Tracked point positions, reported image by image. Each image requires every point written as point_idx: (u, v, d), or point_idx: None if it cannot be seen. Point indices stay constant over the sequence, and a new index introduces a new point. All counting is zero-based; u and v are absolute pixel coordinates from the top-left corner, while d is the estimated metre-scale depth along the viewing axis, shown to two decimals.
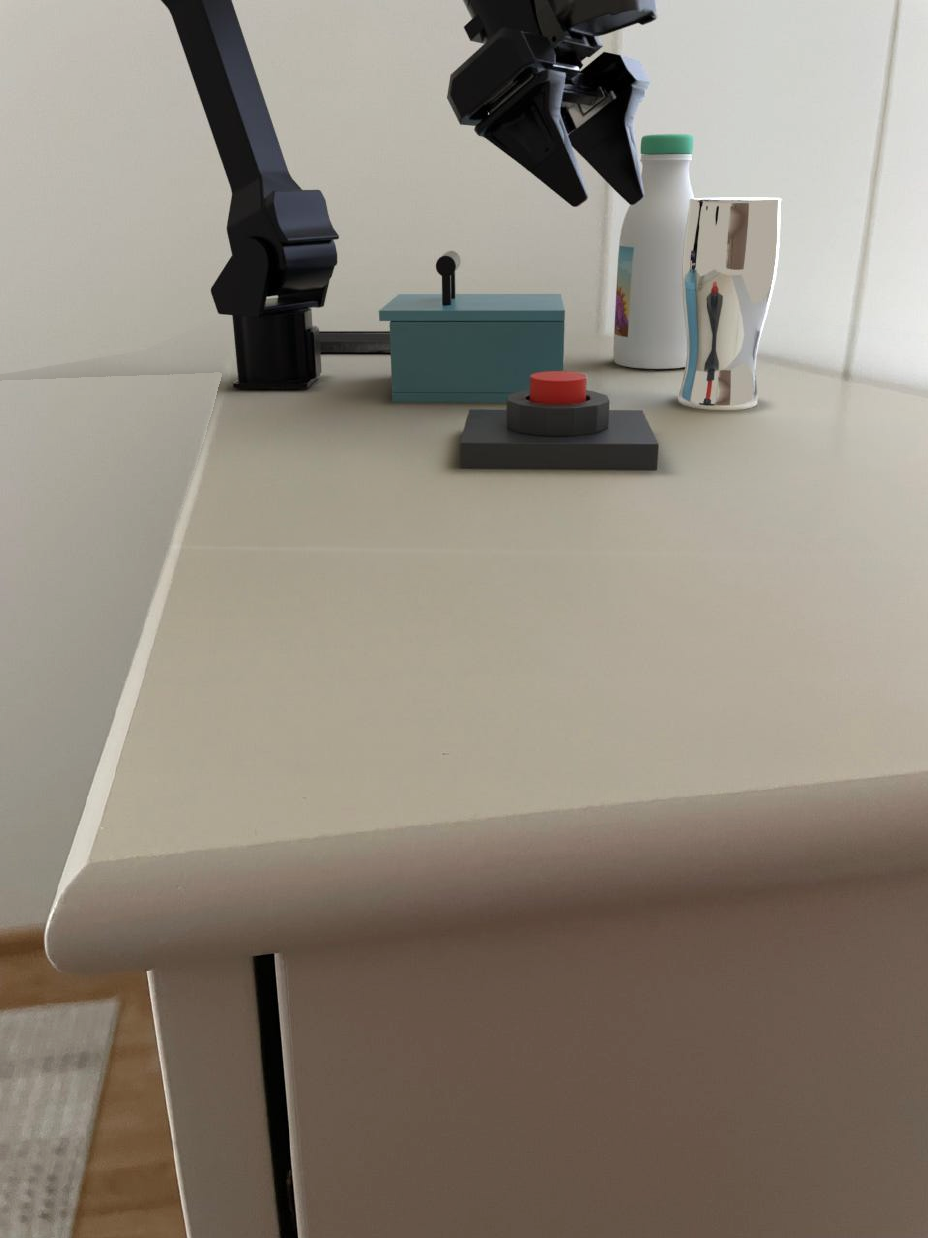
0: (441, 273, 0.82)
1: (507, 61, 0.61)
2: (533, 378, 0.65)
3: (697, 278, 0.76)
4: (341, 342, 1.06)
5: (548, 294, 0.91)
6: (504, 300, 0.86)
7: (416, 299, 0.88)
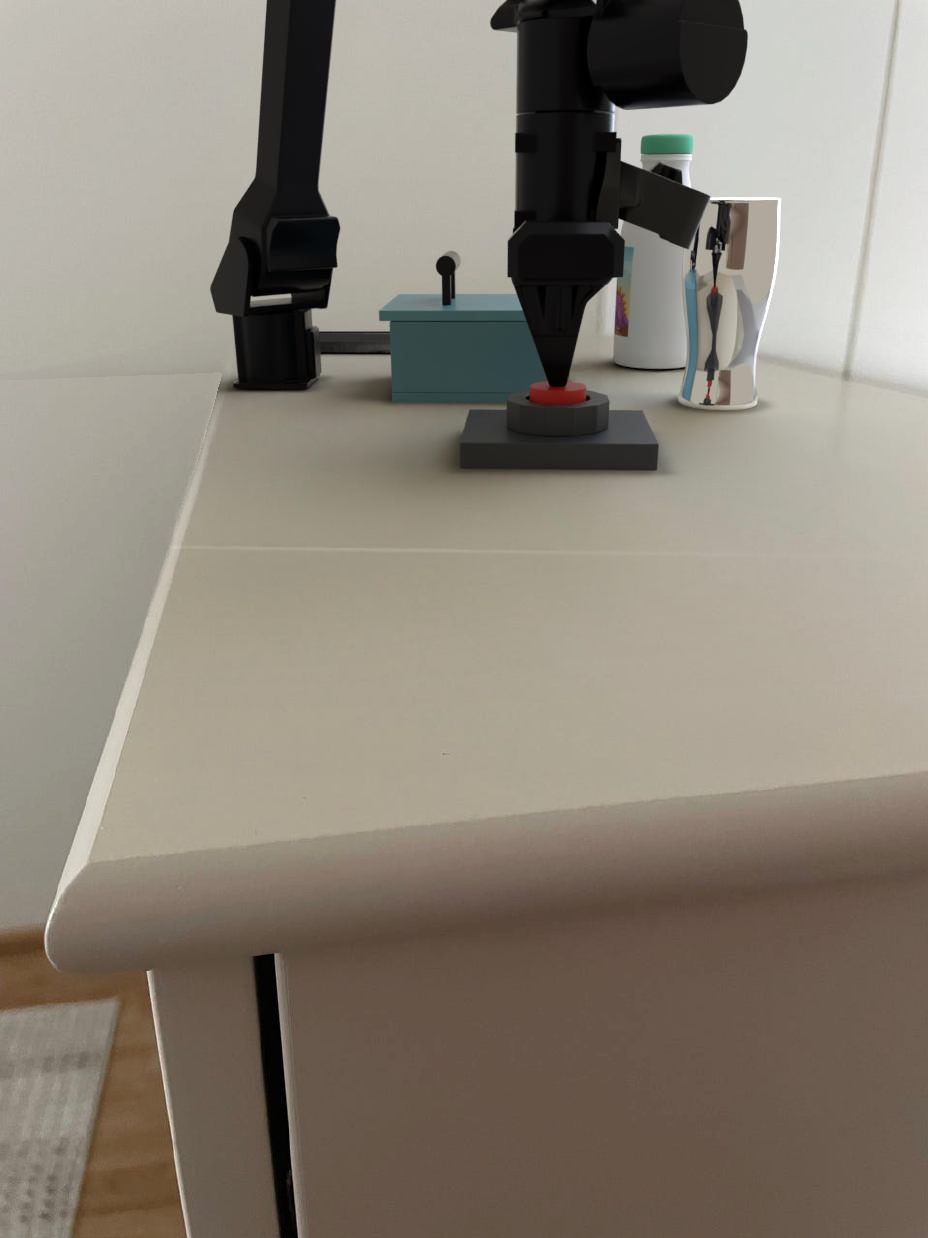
0: (441, 273, 0.82)
1: (598, 262, 0.54)
2: (533, 388, 0.66)
3: (697, 278, 0.76)
4: (341, 342, 1.06)
5: None
6: (504, 300, 0.86)
7: (416, 299, 0.88)
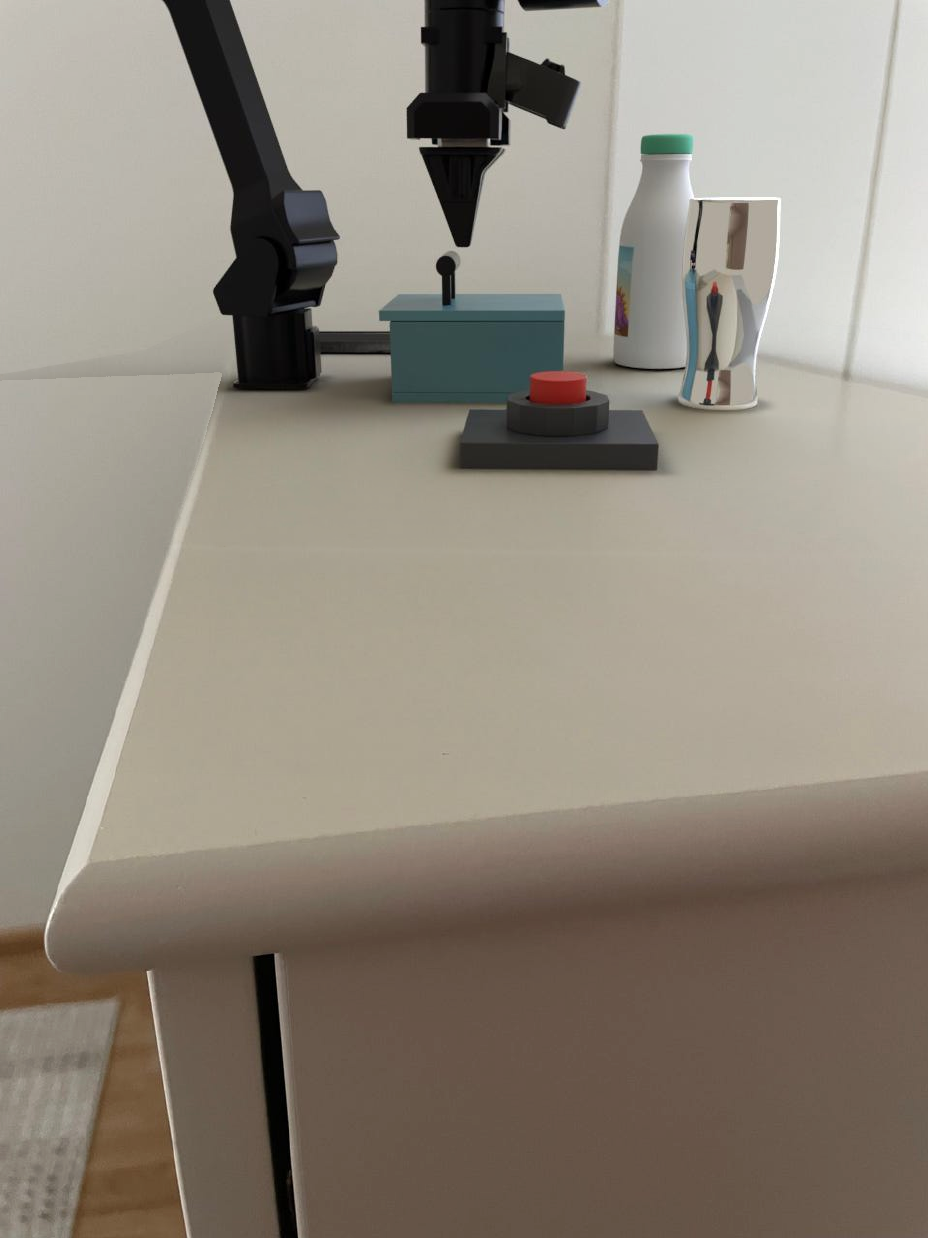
0: (441, 273, 0.82)
1: (477, 125, 0.68)
2: (533, 378, 0.65)
3: (697, 278, 0.76)
4: (341, 342, 1.06)
5: (548, 294, 0.91)
6: (504, 300, 0.86)
7: (416, 299, 0.88)
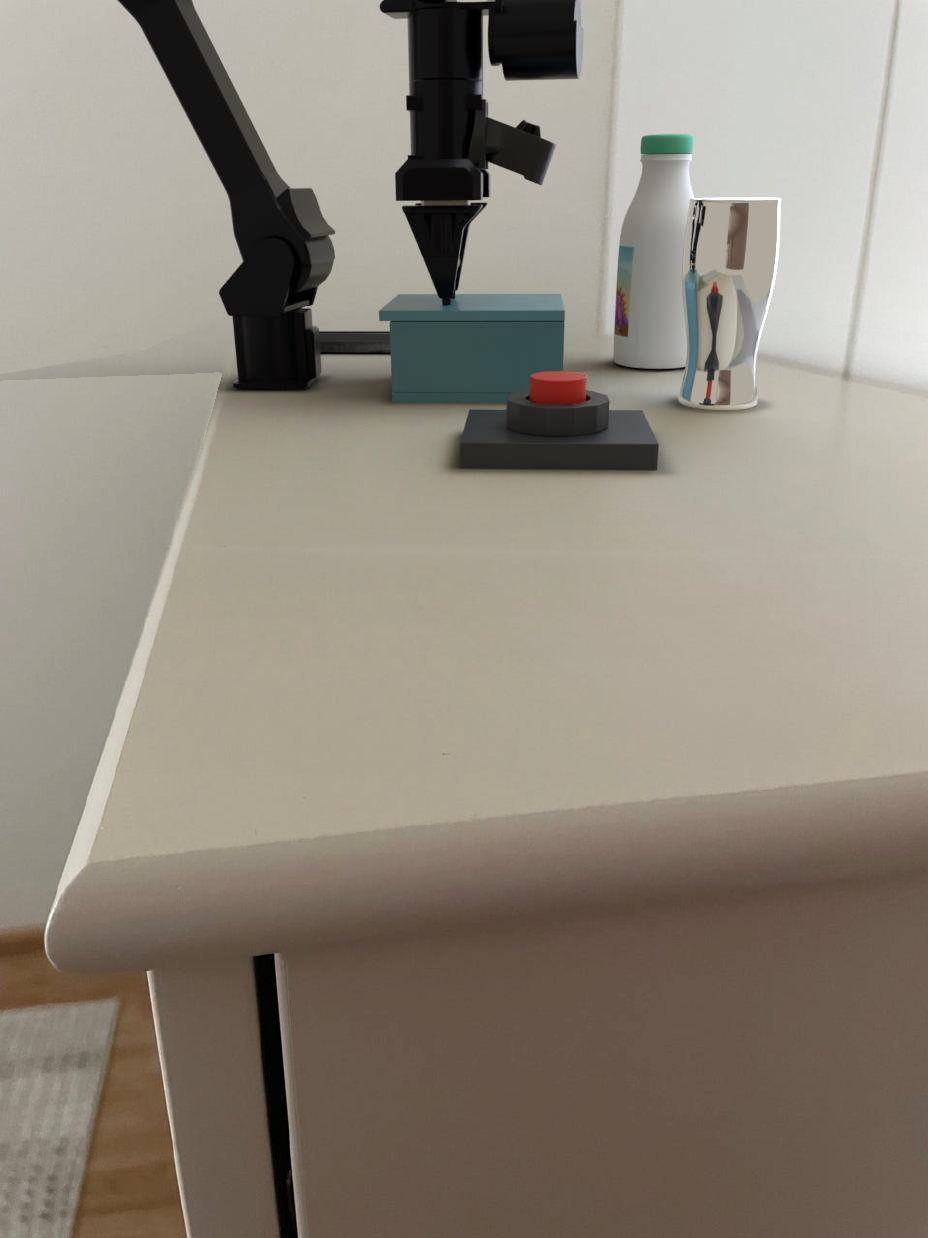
0: None
1: (461, 188, 0.74)
2: (533, 378, 0.65)
3: (697, 278, 0.76)
4: (341, 342, 1.06)
5: (548, 294, 0.91)
6: (504, 300, 0.86)
7: (416, 299, 0.88)
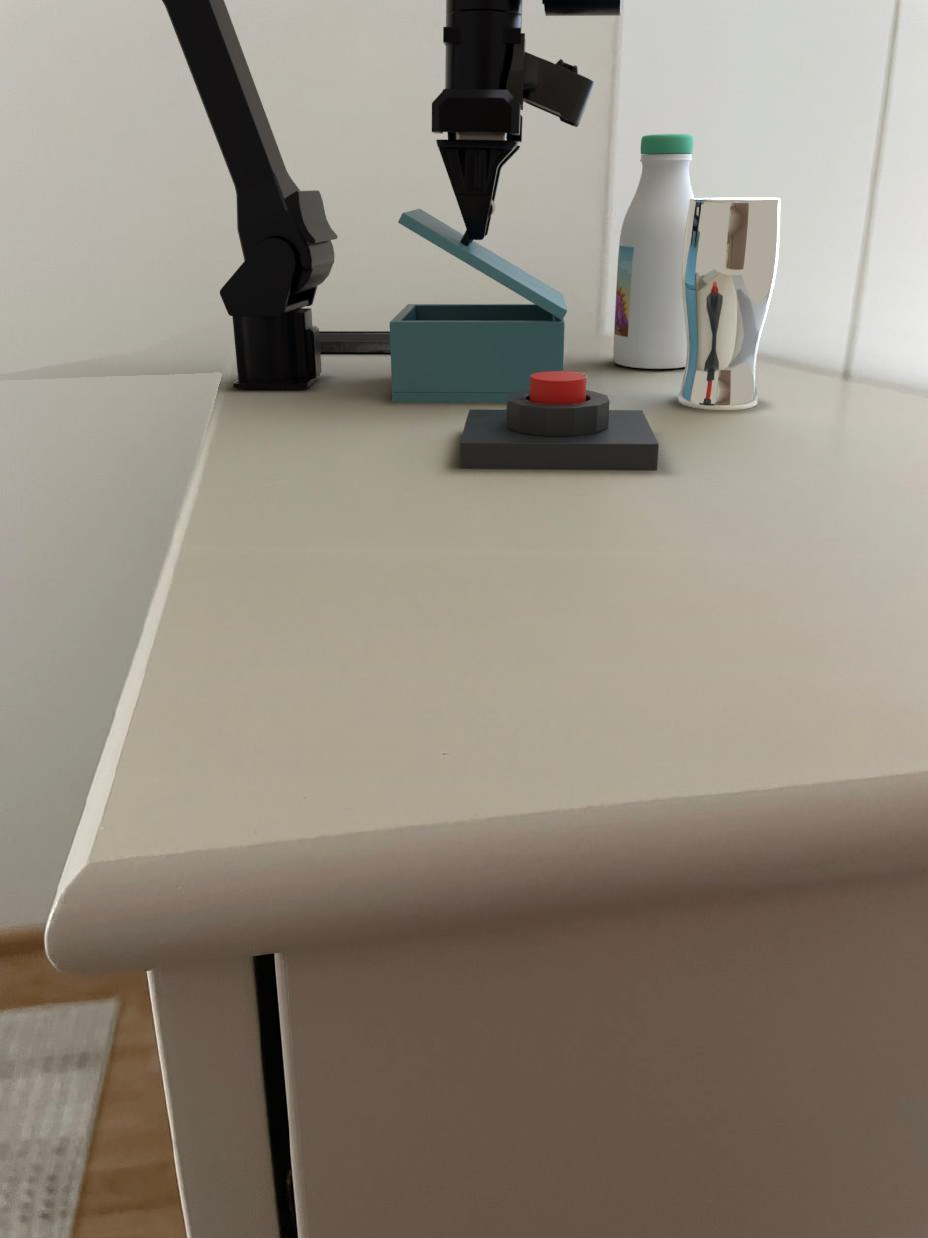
0: None
1: (499, 120, 0.72)
2: (533, 378, 0.65)
3: (697, 278, 0.76)
4: (341, 342, 1.06)
5: (552, 288, 0.90)
6: (514, 270, 0.85)
7: (436, 223, 0.85)
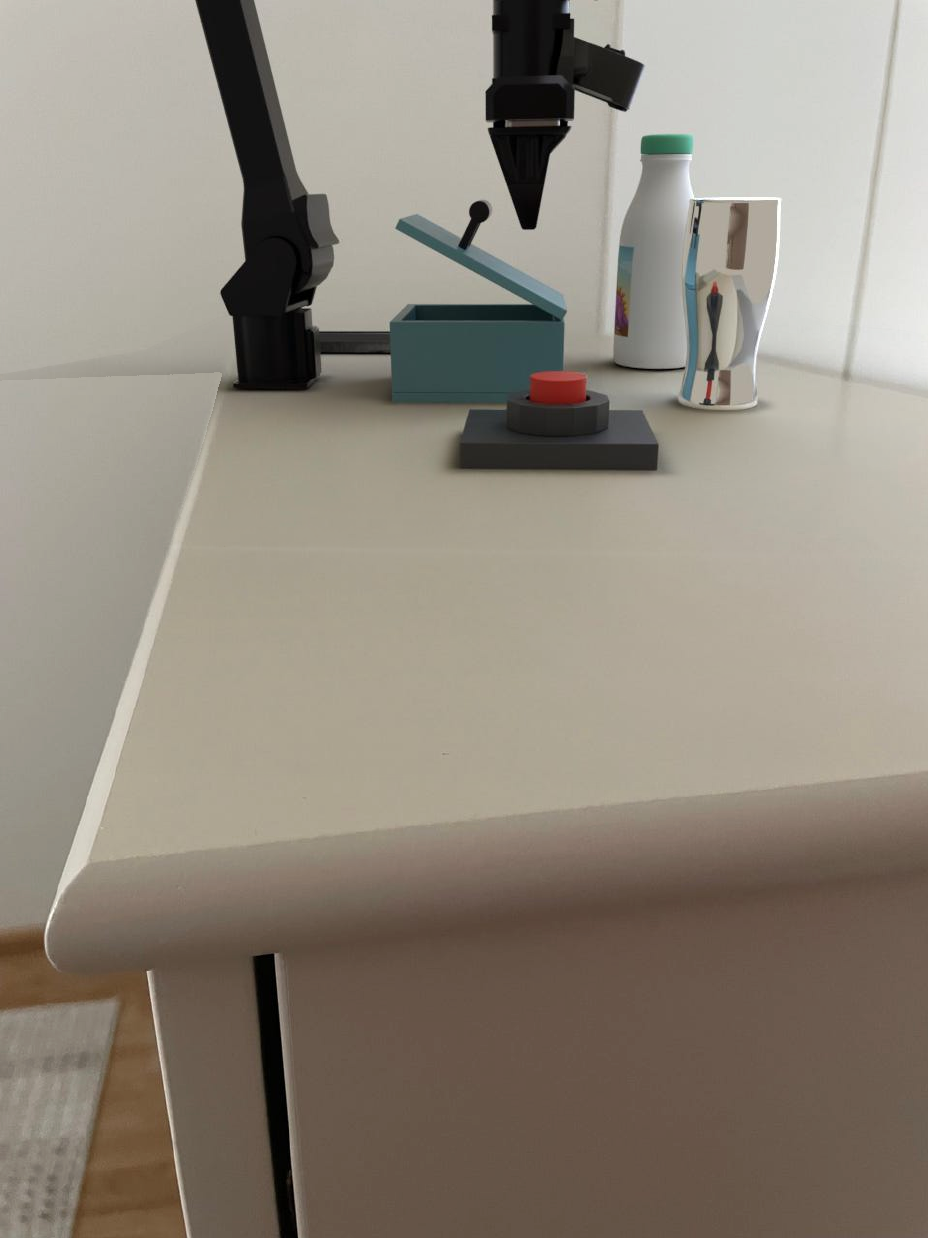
0: (471, 216, 0.80)
1: (554, 106, 0.71)
2: (533, 378, 0.65)
3: (697, 278, 0.76)
4: (341, 342, 1.06)
5: None
6: (513, 272, 0.85)
7: (433, 227, 0.85)
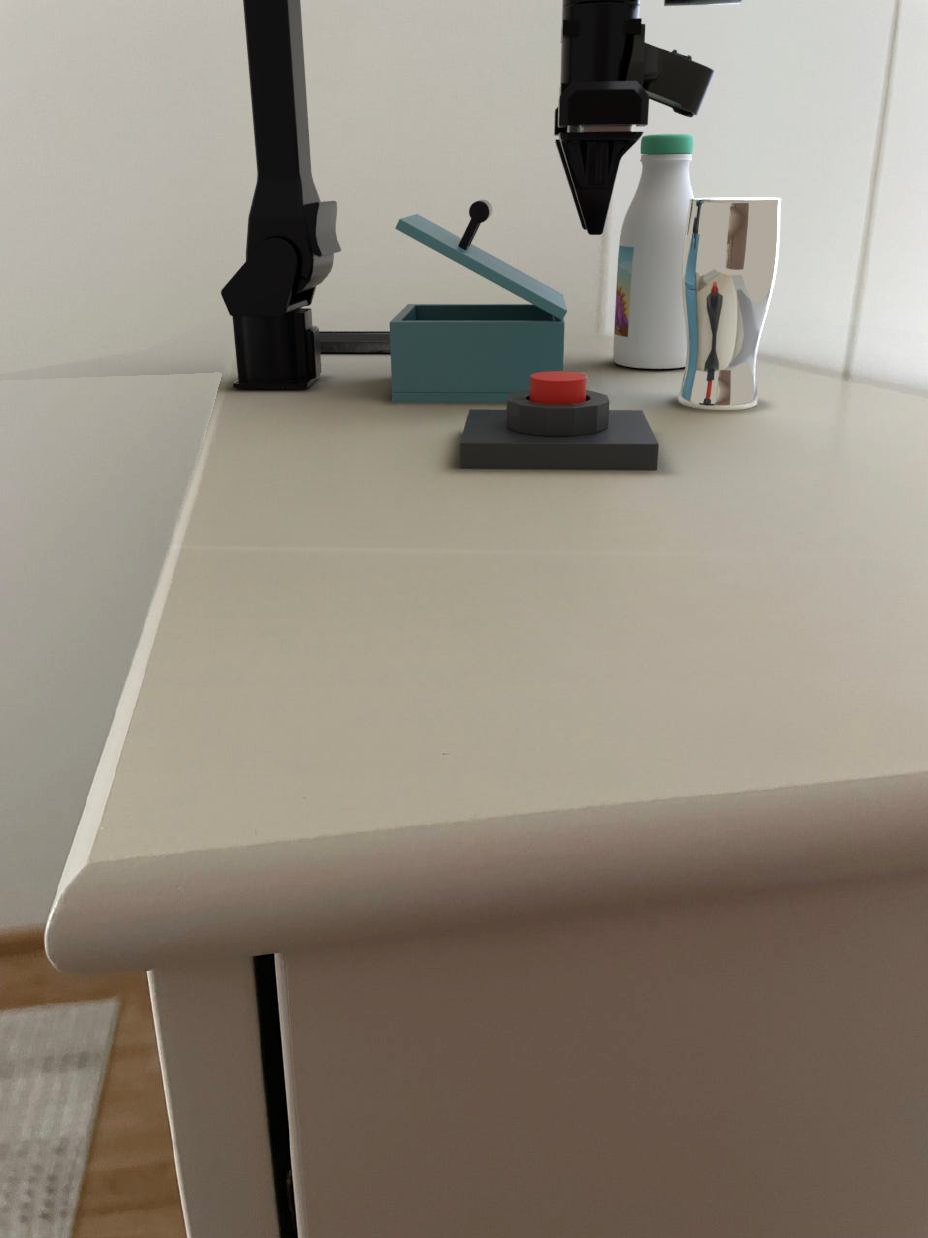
0: (471, 216, 0.80)
1: (629, 111, 0.71)
2: (533, 378, 0.65)
3: (697, 278, 0.76)
4: (341, 342, 1.06)
5: None
6: (513, 272, 0.85)
7: (433, 227, 0.85)
